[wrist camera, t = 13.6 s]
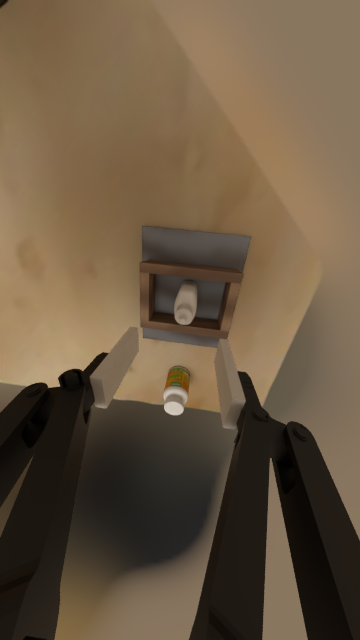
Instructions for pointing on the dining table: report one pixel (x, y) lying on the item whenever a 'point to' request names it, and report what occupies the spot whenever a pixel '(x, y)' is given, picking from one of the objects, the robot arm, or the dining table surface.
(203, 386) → the dining table surface
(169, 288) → the bottle holder
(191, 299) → the eye dropper bottle
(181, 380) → the supplement bottle
